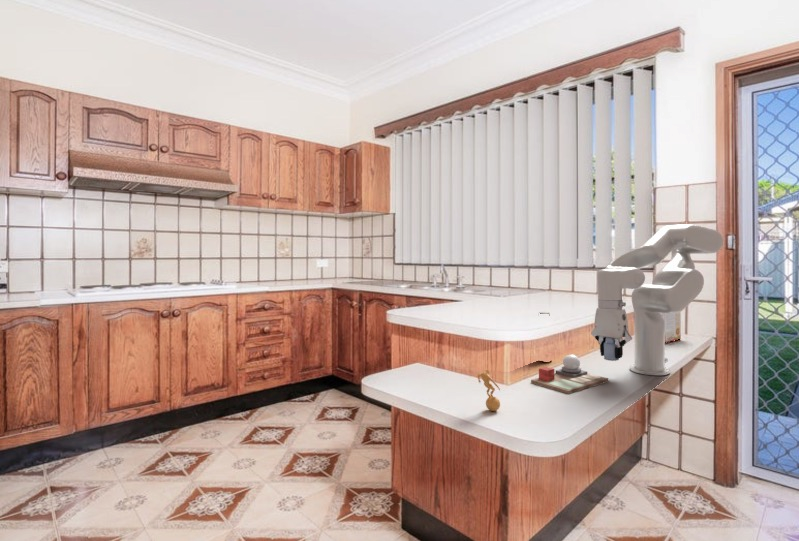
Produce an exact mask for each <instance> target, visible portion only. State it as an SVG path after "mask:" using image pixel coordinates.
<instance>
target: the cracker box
mask: <svg viewBox="0 0 799 541" xmlns="http://www.w3.org/2000/svg"><path fill="white" fill-rule="evenodd" d="M660 314H661V315H662V317H663V320H664V323H665V342H669V343H671V342H670V341H673V342H675V341H674V340H678V339H681V340H682V337H681V336H682V335H681V333H682V331H681V330H682V328H681V327H682V326H681V324H682V322H681V321H682V320H681V319H682V318H681V317H682V311H681V312H679V313H676V314H669V313H661V312H660ZM678 341H679V340H678Z"/></svg>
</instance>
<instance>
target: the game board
mask: <svg viewBox="0 0 799 541" xmlns="http://www.w3.org/2000/svg"><path fill="white" fill-rule="evenodd" d="M607 382H609V378H608V377H605V376H600V375H596V374H592V373H588V371H587V370H583V369H581V372H579V373H569V372H564V371H562V368H559V369H556V370H555V368H554V367H553V368H552V367H549V366H543V367H539V368H538V377H537V378H533V379H531V380H530V383H531V384H533V385H534V384H535V385H537V386H541V387H544V388H546V389H550V390H554V391H557V392H560V393H564V394H567V395H571V394H573V393H576V392H579V391H583V390H586V389H589V388H592V387H594V386H597V385H601V384H604V383H607Z"/></svg>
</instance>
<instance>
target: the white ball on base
mask: <svg viewBox="0 0 799 541" xmlns="http://www.w3.org/2000/svg"><path fill="white" fill-rule="evenodd" d="M580 362H581V361H580V359H579V357H578V356H576V355H575V354H568V355H565V356H564V357H563V359H562V364H563V365H562V366H561V369H562V371H564V372H569V373H579V372H581V370H582V367H580V365H581V363H580Z"/></svg>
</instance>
